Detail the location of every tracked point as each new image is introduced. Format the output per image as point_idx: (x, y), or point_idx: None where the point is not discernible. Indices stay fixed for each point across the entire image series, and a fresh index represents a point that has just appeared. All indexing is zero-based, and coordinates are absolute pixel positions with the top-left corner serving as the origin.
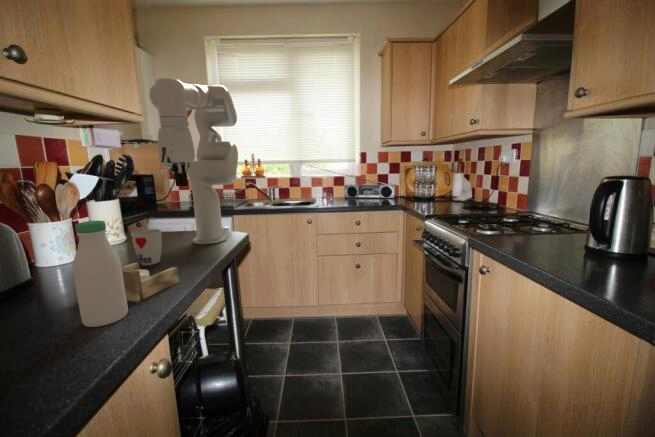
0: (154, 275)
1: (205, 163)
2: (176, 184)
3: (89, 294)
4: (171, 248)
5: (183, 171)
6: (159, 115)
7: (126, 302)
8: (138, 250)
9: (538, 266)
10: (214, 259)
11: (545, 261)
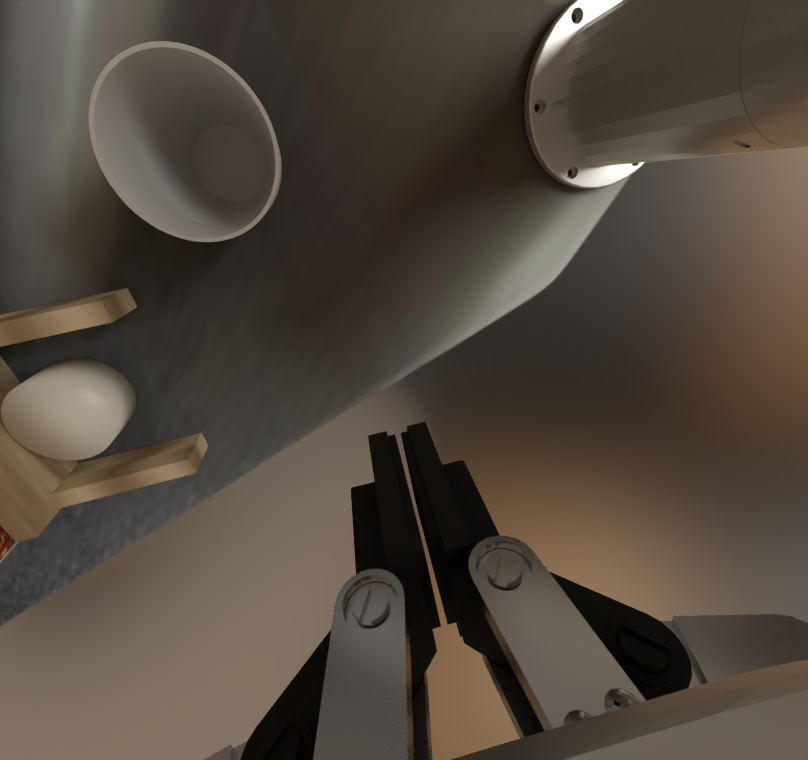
0: (113, 484)
1: None
2: (372, 448)
3: None
4: (421, 10)
5: (469, 637)
6: None
7: (15, 544)
8: (151, 174)
9: None
10: (392, 364)
11: None
